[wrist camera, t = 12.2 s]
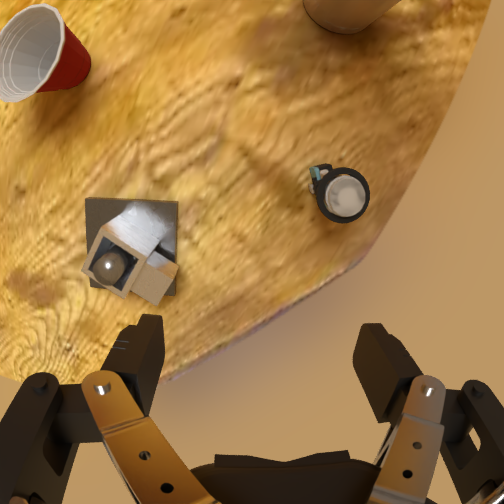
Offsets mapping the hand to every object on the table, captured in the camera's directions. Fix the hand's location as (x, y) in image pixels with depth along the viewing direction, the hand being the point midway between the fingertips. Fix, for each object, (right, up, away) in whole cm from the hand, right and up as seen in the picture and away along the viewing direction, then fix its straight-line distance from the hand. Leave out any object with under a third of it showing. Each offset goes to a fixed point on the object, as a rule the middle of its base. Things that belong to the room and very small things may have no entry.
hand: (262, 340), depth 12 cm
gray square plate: (-16, +4, +26) cm, 31 cm away
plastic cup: (-23, +27, +19) cm, 40 cm away
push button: (+8, +11, +26) cm, 29 cm away
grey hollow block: (-14, +3, +26) cm, 30 cm away
